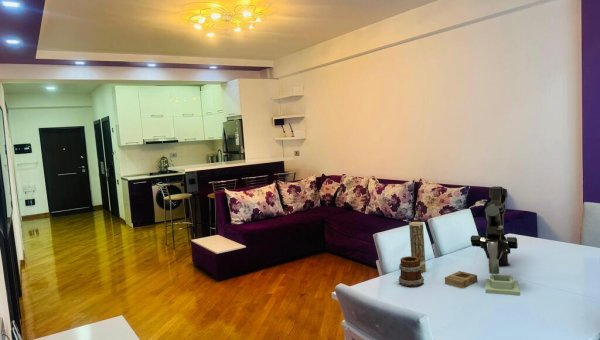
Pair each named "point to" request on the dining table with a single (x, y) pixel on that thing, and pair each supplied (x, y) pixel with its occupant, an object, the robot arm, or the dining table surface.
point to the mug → (411, 271)
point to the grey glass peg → (493, 257)
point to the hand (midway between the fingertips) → (493, 258)
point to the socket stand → (502, 285)
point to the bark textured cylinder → (417, 242)
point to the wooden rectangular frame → (461, 279)
